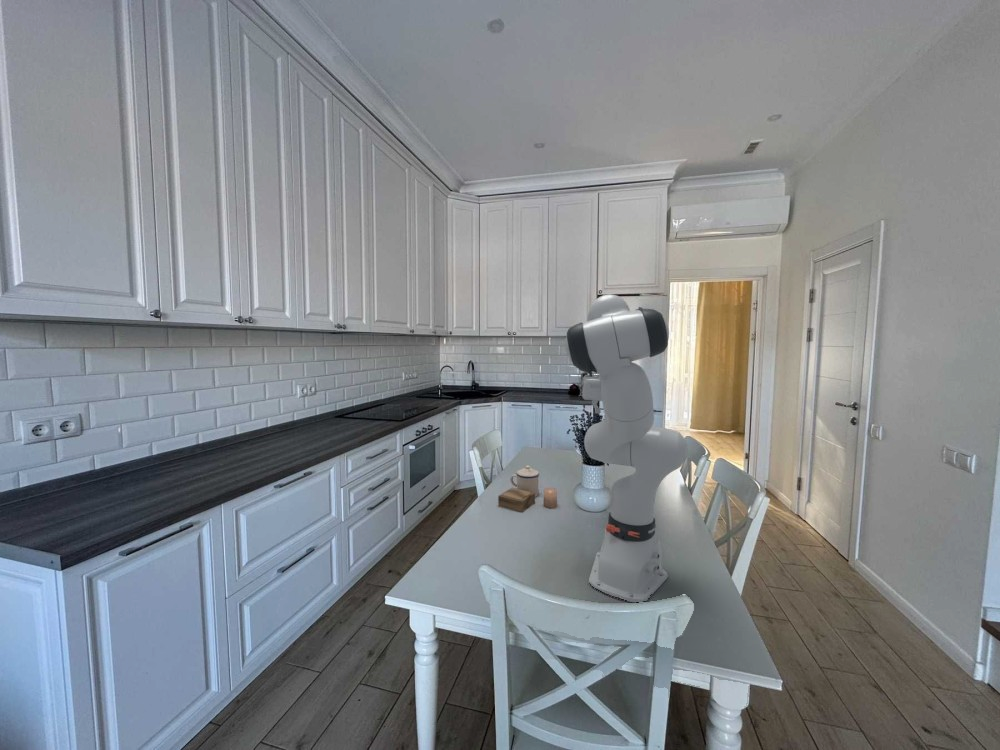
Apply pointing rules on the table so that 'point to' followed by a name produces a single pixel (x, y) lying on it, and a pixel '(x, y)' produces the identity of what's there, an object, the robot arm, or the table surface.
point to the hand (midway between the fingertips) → (610, 414)
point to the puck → (550, 498)
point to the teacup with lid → (526, 480)
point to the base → (516, 499)
